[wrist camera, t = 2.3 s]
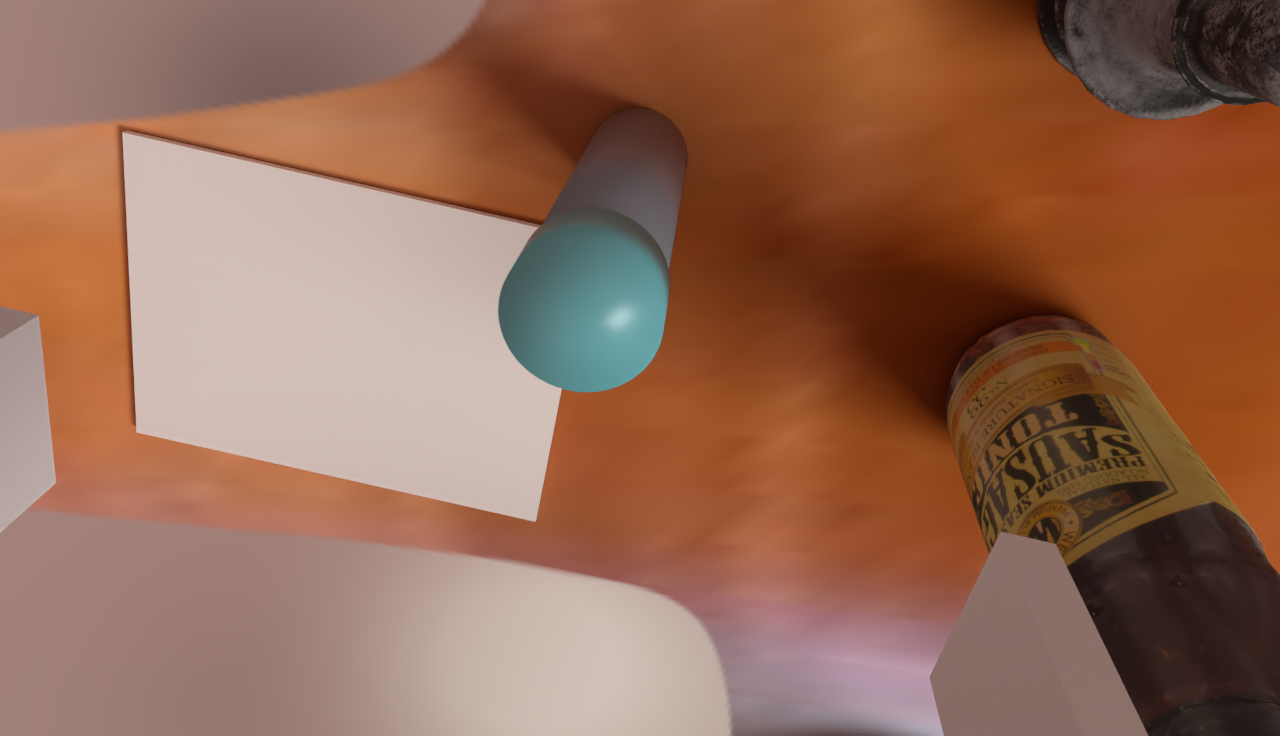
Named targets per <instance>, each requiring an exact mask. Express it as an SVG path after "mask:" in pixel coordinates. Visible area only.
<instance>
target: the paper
mask: <svg viewBox="0 0 1280 736" xmlns="http://www.w3.org/2000/svg"><path fill="white" fill-rule="evenodd" d="M122 136H123V157H124V178H125V199H126V220H127V241H128V263H129V284H130V305H131V326H132V347H133V368H134V389H135V411H136V432H137V433H142V434H146V435H151V436H155V437H159V438H164V439H168V440H173V441H177V442H182V443H186V444H191V445H195V446H200V447H204V448H209V449H213V450H217V451H222V452H226V453H231V454H235V455H240V456H244V457H249V458H253V459H258V460H262V461H267V462H271V463H275V464H280V465H284V466H289V467H293V468H298V469H302V470H307V471H311V472H316V473H320V474H325V475H329V476H333V477H338V478H342V479H347V480H351V481H356V482H360V483H365V484H369V485H374V486H378V487H383V488H387V489H392V490H396V491H400V492H405V493H409V494H414V495H418V496H423V497H427V498H432V499H436V500H441V501H445V502H450V503H454V504H458V505H463V506H467V507H472V508H476V509H481V510H485V511H490V512H494V513H499V514H503V515H508V516H512V517H516V518H521V519H525V520H530V521H534V522H536V519H537V514H538V509H539V504H540V499H541V494H542V488H543V483H544V478H545V473H546V468H547V463H548V457H549V452H550V447H551V442H552V437H553V432H554V427H555V421H556V416H557V411H558V406H559V401H560V396H561V391H562V389H561V388H558V387H555V386H553V385H550V384H548V383H546V382H544V381H542V380H540V379H539V378H537V377H536V376H534V375H533V374H531V373H530V372H529V371H528V370H526V369H525V368H524V367H523V366H522V365H521V364H520V363H519V362H518V360H517V359H516V358H515V357H514V356H513V354H512V353H511V351H510V350H509V348H508V346H507V344H506V342H505V340H504V338H503V335H502V332H501V329H500V324H499V317H498V304H499V297H500V292H501V289H502V286H503V283H504V281H505V279H506V277H507V275H508V274H509V272H510V270H511V269H512V267H513V265H514V263H515V262H516V260H517V258H518V257H519V255H520V253H521V251H522V250H523V248H524V246H525V245H526V243H527V241H528V240H529V238H530V237H531V236H532V234H533V233H534V232H535V231H536V230H537V229H538V228H539V227H540V226H541V225H538V224H534V223H530V222H525V221H521V220H517V219H512V218H508V217H504V216H499V215H495V214H490V213H486V212H482V211H477V210H473V209H469V208H464V207H460V206H456V205H451V204H447V203H442V202H438V201H434V200H429V199H425V198H421V197H416V196H412V195H408V194H403V193H399V192H394V191H390V190H386V189H381V188H377V187H373V186H368V185H364V184H360V183H355V182H351V181H346V180H342V179H338V178H333V177H329V176H325V175H320V174H316V173H312V172H307V171H303V170H298V169H294V168H290V167H285V166H281V165H277V164H272V163H268V162H264V161H259V160H255V159H250V158H246V157H242V156H237V155H233V154H229V153H224V152H220V151H216V150H211V149H207V148H202V147H198V146H194V145H189V144H185V143H181V142H176V141H172V140H168V139H163V138H159V137H154V136H150V135H146V134H141V133H137V132H133V131H128V130H127V131H125V132H122Z"/></svg>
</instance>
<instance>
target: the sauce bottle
mask: <svg viewBox="0 0 1280 736" xmlns="http://www.w3.org/2000/svg"><path fill="white" fill-rule="evenodd" d="M945 408H946V414H947V416H948V417H947V422H948V431H949V436H950V440H951V443H952V446H953V449H954V452H955V455H956V458H957V461H958V464H959V467H960V470H961V473H962V476H963V479H964V482H965V485H966V488H967V491H968V494H969V497H970V500H971V502H972V505H973V508H974V511H975V514H976V517H977V520H978V523H979V526H980V529H981V532H982V534H983V537H984V540H985V544H986V546H987V549H988V552H989V554H990V552H991V550H992V548H993V546H994V544H995V542H996V540H997V538H998V536H999V534H1000V532H1005V533H1009V534H1014V535H1018V536H1022V537H1027V538H1031V539H1036V540H1040V541H1045V542H1049V543H1053V544H1056V546H1057V548H1058V550H1059V552H1060V554H1061V556H1062V558H1063V560H1064V562H1065V564H1066V566H1067V568H1068V571H1069V573H1070V575H1071V577H1072V579H1073V581H1074V583H1075V585H1076V587H1077V589H1078V591H1079V593H1080V595H1081V597H1082V600H1083V602H1084V604H1085V606H1086V608H1087V610H1088V612H1089V614H1090V616H1091V618H1092V620H1093V622H1094V624H1095V626H1096V628H1097V631H1098V633H1099V635H1100V637H1101V639H1102V641H1103V643H1104V645H1105V647H1106V649H1107V651H1108V653H1109V655H1110V657H1111V659H1112V662H1113V664H1114V666H1115V668H1116V670H1117V672H1118V674H1119V676H1120V678H1121V680H1122V682H1123V684H1124V686H1125V688H1126V691H1127V693H1128V695H1129V697H1130V699H1131V701H1132V703H1133V705H1134V707H1135V709H1136V711H1137V713H1138V715H1139V717H1140V719H1141V722H1142V724H1143V726H1144V728H1145V730H1146V732H1147V734H1148V736H1280V575H1279V573H1278V572H1277V571H1276V570H1275V569H1274V568H1273V567H1272V566H1271V564H1270V563H1269V561H1268V560H1267V558H1266V554H1265V551H1264V548H1263V546H1262V544H1261V542H1260V540H1259V538H1258V536H1257V535H1256V533H1255V532H1254V530H1253V529H1252V527H1251V526H1250V524H1249V523H1248V522H1247V520H1246V519H1245V518H1244V516H1243V515H1242V514H1241V512H1240V511H1239V510H1238V508H1237V507H1236V506H1235V504H1234V503H1233V502H1232V500H1231V499H1230V498H1229V496H1228V495H1227V494H1226V492H1225V491H1224V490H1223V488H1222V487H1221V485H1220V484H1219V483H1218V481H1217V480H1216V478H1215V477H1214V476H1213V474H1212V473H1211V471H1210V470H1209V469H1208V467H1207V466H1206V465H1205V463H1204V462H1203V460H1202V459H1201V458H1200V456H1199V455H1198V454H1197V452H1196V451H1195V449H1194V448H1193V447H1192V445H1191V444H1190V442H1189V441H1188V439H1187V438H1186V436H1185V435H1184V434H1183V432H1182V431H1181V430H1180V428H1179V427H1178V426H1177V424H1176V423H1175V422H1174V421H1173V419H1172V418H1171V416H1170V415H1169V414H1168V412H1167V411H1166V409H1165V408H1164V406H1163V405H1162V404H1161V402H1160V401H1159V399H1158V398H1157V397H1156V395H1155V394H1154V392H1153V391H1152V390H1151V388H1150V387H1149V385H1148V384H1147V383H1146V381H1145V380H1144V379H1143V377H1142V376H1141V374H1140V373H1139V372H1138V370H1137V369H1136V368H1135V366H1134V365H1133V363H1132V362H1131V361H1130V360H1129V359H1128V358H1127V357H1126V356H1125V355H1124V354H1123V353H1122V352H1121V351H1120V350H1118V349H1117V348H1116V347H1115V346H1113V344H1112V343H1111V342H1110V341H1109V340H1108V339H1107V338H1106V337H1105V336H1104V335H1103V334H1102V333H1101V332H1100V331H1098V330H1097V329H1096V328H1094V327H1092V326H1090V325H1088V324H1086V323H1084V322H1081V321H1079V320H1076V319H1070V318H1067V317H1064V316H1057V315H1054V316H1050V315H1040V316H1030V317H1026V318H1023V319H1019V320H1016V321H1013V322H1011V323H1008V324H1005V325H1003V326H1001V327H998V328H996V329H994V330H992V331H991V332H990V333H988V334H985V335H983V336H981V337H980V338H979V339H978V341H977V342H976V344H974V345H971V346H970V347H969V348H968V349H966V350H965V352H964V355H963V357H962V358H961V359H960V361H959V362H958V364H957V367H956V369H955V371H954V375H953V376H952V379H951V381H950V383H949V391H948V394H947V397H946V402H945Z"/></svg>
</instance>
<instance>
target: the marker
mask: <svg viewBox="0 0 1280 736" xmlns="http://www.w3.org/2000/svg"><path fill="white" fill-rule="evenodd" d="M686 166H687V149H686V144H685V141H684V139H683V136H682V135H681V133H680V131H679V130H678V128H677V127H676V125H675V124H674V123H673V122H672V121H671V120H669V119H668V118H667V117H666V116H664V115H662V114H661V113H659V112H656V111H654V110H651V109H646V108H628V109H624V110H621V111H618V112H616V113H614V114H612V115H611V116H609V117H608V118H607V119H605V120H604V121H603V122H602V123H601V125H600V126H599V127H598V128H597V130H596V132H595V134H594V135H593V137H592V139H591V141H590V142H589V144H588V146H587V148H586V149H585V151H584V153H583V155H582V156H581V158H580V160H579V162H578V163H577V165H576V167H575V169H574V170H573V172H572V174H571V176H570V177H569V179H568V181H567V183H566V184H565V186H564V188H563V190H562V191H561V193H560V195H559V196H558V198H557V200H556V202H555V203H554V205H553V207H552V209H551V210H550V212H549V214H548V216H547V217H546V219H545V221H544V223H543V224H542V225H541V226H540V227H539V228H538V229H537V230H536V231H535V232H534V233H533V234H532V236H531V237H530V238H529V240H528V241H527V243H526V245H525V246H524V248H523V250H522V251H521V253H520V255H519V257H518V258H517V260H516V262H515V263H514V265H513V267H512V269H511V270H510V272H509V274H508V275H507V277H506V279H505V281H504V283H503V286H502V289H501V292H500V297H499V304H498V317H499V324H500V329H501V332H502V335H503V338H504V340H505V342H506V344H507V346H508V348H509V350H510V351H511V353H512V354H513V356H514V357H515V358H516V359H517V360H518V362H519V363H520V364H521V365H522V366H523V367H524V368H525V369H526V370H528V371H529V372H530V373H531V374H533V375H534V376H536V377H537V378H539V379H540V380H542V381H544V382H546V383H548V384H550V385H553V386H555V387H558V388H561V389H565V390H570V391H576V392H598V391H603V390H608V389H612V388H615V387H618V386H620V385H622V384H624V383H626V382H628V381H630V380H631V379H633V378H634V377H636V376H637V375H638V374H639V373H641V372H642V371H643V370H644V369H645V368H646V367H647V365H648V364H649V363H650V362H651V360H652V359H653V357H654V356H655V354H656V352H657V350H658V348H659V346H660V343H661V340H662V336H663V330H664V324H665V318H666V312H667V305H668V299H669V293H670V274H669V266H670V260H671V254H672V248H673V242H674V237H675V231H676V225H677V219H678V213H679V207H680V201H681V196H682V190H683V184H684V178H685V172H686Z"/></svg>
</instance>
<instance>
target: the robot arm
mask: <svg viewBox="0 0 1280 736" xmlns="http://www.w3.org/2000/svg"><path fill="white" fill-rule="evenodd" d="M54 484H56V478H55V468H54V458H53V449H52V439H51V429H50V420H49V410H48V400H47V391H46V381H45V372H44V362H43V352H42V343H41V333H40V323H39V315H36V314H32V313H27V312H23V311H18V310H14V309H9V308H5V307H0V532H2V531H3V530H4V529H5V528H6V527H7V526H8V525H9V524H10V523H12V522H13V521H14V520H15V519H16V518H17V517H18V516H20V515H21V514H22V513H23V512H24V511H25V510H26V509H27V508H29V507H30V506H31V505H32V504H33V503H34V502H35V501H36V500H38V499H39V498H40V497H41V496H42V495H43V494H44V493H45V492H47V491H48V490H49V489H50V488H51V487H52V486H53V485H54ZM930 680H931V684H932V688H933V692H934V697H935V701H936V705H937V709H938V713H939V717H940V721H941V725H942V729H943V733H944V736H1148V734H1147V732H1146V730H1145V728H1144V726H1143V724H1142V722H1141V719H1140V717H1139V715H1138V713H1137V711H1136V709H1135V707H1134V705H1133V703H1132V701H1131V699H1130V697H1129V695H1128V693H1127V691H1126V688H1125V686H1124V684H1123V682H1122V680H1121V678H1120V676H1119V674H1118V672H1117V670H1116V668H1115V666H1114V664H1113V662H1112V659H1111V657H1110V655H1109V653H1108V651H1107V649H1106V647H1105V645H1104V643H1103V641H1102V639H1101V637H1100V635H1099V633H1098V631H1097V628H1096V626H1095V624H1094V622H1093V620H1092V618H1091V616H1090V614H1089V612H1088V610H1087V608H1086V606H1085V604H1084V602H1083V600H1082V597H1081V595H1080V593H1079V591H1078V589H1077V587H1076V585H1075V583H1074V581H1073V579H1072V577H1071V575H1070V573H1069V571H1068V568H1067V566H1066V564H1065V562H1064V560H1063V558H1062V556H1061V554H1060V552H1059V550H1058V548H1057V546H1056V544H1053V543H1049V542H1045V541H1040V540H1036V539H1031V538H1027V537H1022V536H1018V535H1014V534H1009V533H1005V532H1000V534H999V536H998V538H997V540H996V542H995V544H994V546H993V548H992V550H991V552H990V554H989V556H988V558H987V560H986V563H985V565H984V567H983V569H982V571H981V573H980V575H979V577H978V579H977V581H976V583H975V585H974V587H973V589H972V591H971V593H970V595H969V597H968V600H967V602H966V604H965V606H964V608H963V610H962V612H961V614H960V616H959V618H958V620H957V622H956V624H955V626H954V628H953V630H952V632H951V634H950V637H949V639H948V641H947V643H946V645H945V647H944V649H943V651H942V653H941V655H940V657H939V659H938V661H937V663H936V665H935V667H934V669H933V671H932V674H931V676H930Z"/></svg>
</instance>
